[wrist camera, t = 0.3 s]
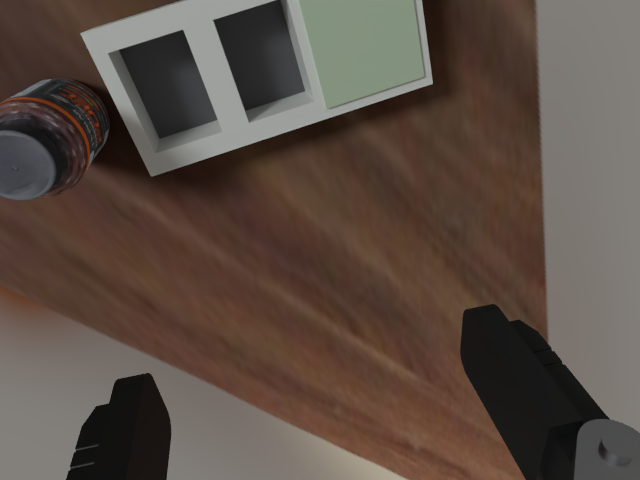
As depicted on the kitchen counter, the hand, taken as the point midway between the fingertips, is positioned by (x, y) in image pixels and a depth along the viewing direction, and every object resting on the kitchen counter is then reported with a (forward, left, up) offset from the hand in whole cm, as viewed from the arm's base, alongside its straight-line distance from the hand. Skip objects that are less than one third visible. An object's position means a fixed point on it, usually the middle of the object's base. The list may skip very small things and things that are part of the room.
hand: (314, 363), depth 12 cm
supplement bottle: (-3, -12, -30) cm, 32 cm away
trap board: (-3, +3, -29) cm, 30 cm away
